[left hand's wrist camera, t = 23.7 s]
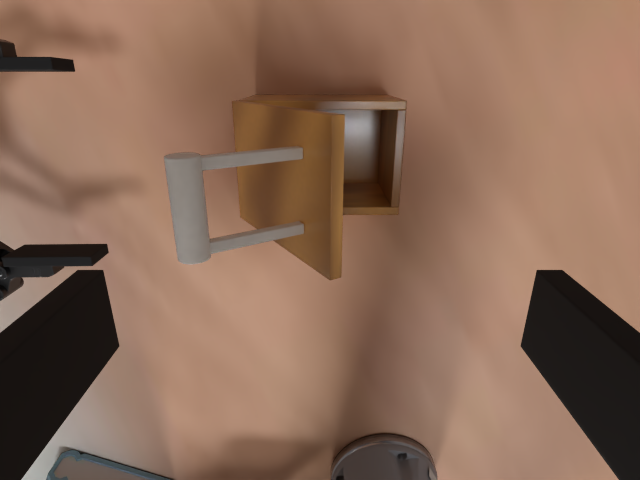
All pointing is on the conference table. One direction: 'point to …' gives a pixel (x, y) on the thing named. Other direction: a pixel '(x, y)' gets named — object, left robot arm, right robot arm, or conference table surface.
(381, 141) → the chest
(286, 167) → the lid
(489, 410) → the conference table surface
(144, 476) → the book
